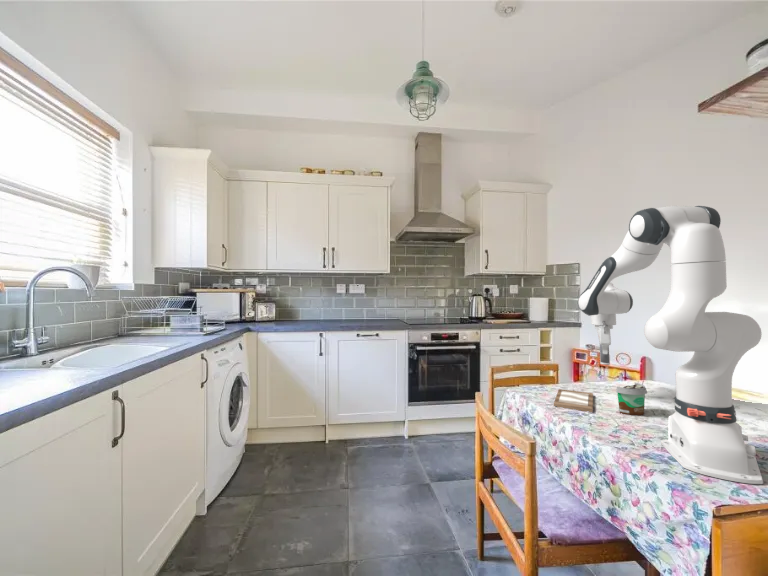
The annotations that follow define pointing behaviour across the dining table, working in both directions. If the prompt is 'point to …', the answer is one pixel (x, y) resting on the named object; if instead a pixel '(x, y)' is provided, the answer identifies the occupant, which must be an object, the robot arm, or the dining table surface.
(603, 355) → the marker
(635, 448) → the dining table surface
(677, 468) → the dining table surface
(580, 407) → the writing board
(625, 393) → the food container
